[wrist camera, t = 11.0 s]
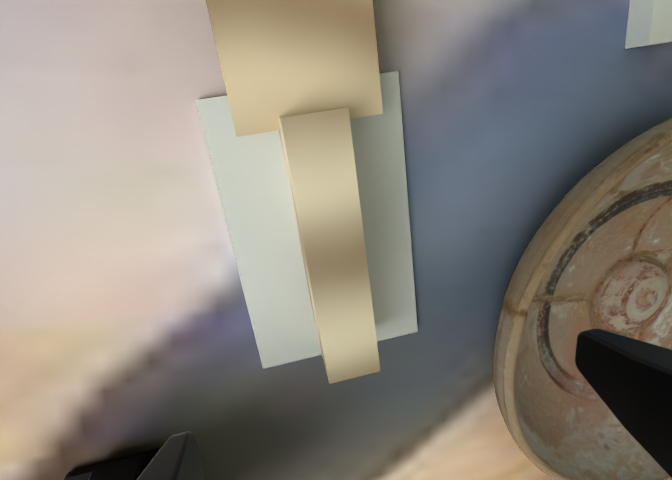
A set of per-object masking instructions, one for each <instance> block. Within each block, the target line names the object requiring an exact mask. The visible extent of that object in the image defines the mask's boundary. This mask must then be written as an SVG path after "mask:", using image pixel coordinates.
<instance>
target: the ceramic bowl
mask: <svg viewBox="0 0 672 480" xmlns="http://www.w3.org/2000/svg"><path fill="white" fill-rule="evenodd" d="M594 328H597V329H602V330H605V331H608V332H612V333H615V334H619V335H622V336H626V337H629V338H633V339H636V340H640V341H643V342H647V343H650V344H654V345H657V346H661V347H664V348H668V349H671V350H672V118H670V119H668V120H666V121H664V122H662V123H660V124H658V125H656V126H654V127H652V128H650V129H649V130H647V131H645V132H644V133H642V134H640V135H639V136H637V137H635V138H634V139H632V140H631V141H629V142H628V143H626V144H625V145H623V146H622V147H620V148H619V149H617V150H616V151H615V152H613V153H612V154H611V155H610V156H608V157H607V158H606V159H604V160H603V161H602V162H601V163H599V164H598V165H597V166H596V167H594V168H593V169H592V170H591V171H590V172H589V173H587V174H586V175H585V176H584V177H583V178H581V179H580V180H579V181H578V182H577V183H576V184H575V186H574V187H573V188H572V189H571V190H570V191H569V192H568V193H567V194H566V195H565V196H564V197H563V198H562V200H561V201H560V202H559V203H558V204H557V205H556V207H555V208H554V209H553V210H552V211H551V213H550V214H549V215H548V216H547V218H546V219H545V221H544V222H543V223H542V225H541V226H540V228H539V229H538V231H537V232H536V234H535V235H534V237H533V238H532V240H531V241H530V243H529V244H528V246H527V248H526V249H525V251H524V253H523V255H522V257H521V258H520V260H519V262H518V264H517V266H516V269H515V271H514V273H513V275H512V278H511V280H510V282H509V284H508V287H507V290H506V292H505V295H504V298H503V305H502V308H501V312H500V316H499V320H498V324H497V329H496V334H495V342H494V352H493V377H494V386H495V392H496V397H497V401H498V404H499V408H500V411H501V414H502V416H503V418H504V421H505V423H506V425H507V427H508V430H509V432H510V434H511V435H512V437H513V439H514V440H515V442H516V443H517V445H518V446H519V448H520V449H521V450H522V451H523V452H524V454H525V455H526V456H527V457H528V458H529V459H530V460H531V461H532V462H533V463H534V464H535V465H536V466H537V467H538V468H539V469H540V470H541V471H543V472H545V473H546V474H548V475H549V476H551V477H553V478H554V479H556V480H672V478H671V477H670V476H669V475H668V474H667V473H666V472H665V471H664V470H663V468H662V467H661V466H660V465H659V464H658V463H657V462H656V461H655V460H654V459H653V458H652V457H651V456H650V455H649V454H648V453H647V451H646V450H645V449H644V448H643V447H642V446H641V445H640V444H639V443H638V442H637V441H636V440H635V439H634V438H633V437H632V435H631V434H630V433H629V432H628V431H627V430H626V429H625V428H624V427H623V425H622V424H621V423H620V422H619V421H618V419H617V418H616V417H615V416H614V414H613V413H612V412H611V411H610V409H609V408H608V407H607V406H606V404H605V403H604V402H603V401H602V399H601V398H600V397H599V396H598V394H597V393H596V392H595V391H594V389H593V388H592V387H591V385H590V384H589V383H588V382H587V380H586V379H585V378H584V377H583V375H582V374H581V373H580V372H579V370H578V368H577V366H576V364H575V352H576V343H577V336H578V334H579V333H580V332H582V331H586V330H590V329H594Z"/></svg>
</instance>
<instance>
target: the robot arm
mask: <svg viewBox="0 0 672 480" xmlns="http://www.w3.org/2000/svg"><path fill="white" fill-rule="evenodd" d="M575 364H576V366H577V368H578V370H579V372H580V373H581V374H582V375H583V377H584V378H585V379H586V380H587V382H588V383H589V384H590V385H591V387H592V388H593V389H594V391H595V392H596V393H597V394H598V396H599V397H600V398H601V399H602V401H603V402H604V403H605V404H606V406H607V407H608V408H609V409H610V411H611V412H612V413H613V414H614V416H615V417H616V418H617V419H618V421H619V422H620V423H621V424H622V425H623V427H624V428H625V429H626V430H627V431H628V432H629V433H630V434H631V435H632V437H633V438H634V439H635V440H636V441H637V442H638V443H639V444H640V445H641V446H642V447H643V448H644V449H645V450H646V451H647V453H648V454H649V455H650V456H651V457H652V458H653V459H654V460H655V461H656V462H657V463H658V464H659V465H660V466H661V467H662V468H663V470H664V471H665V472H666V473H667V474H668V475H669V476H670V477H671V478H672V350H671V349H668V348H664V347H661V346H657V345H654V344H650V343H647V342H643V341H640V340H636V339H633V338H629V337H626V336H622V335H619V334H615V333H612V332H608V331H605V330H602V329H597V328H594V329H590V330H586V331H582V332H580V333H579V334H578V336H577V343H576V352H575ZM64 480H204V465H203V459H202V456H201V453H200V450H199V448H198V445H197V442H196V439H195V436H194V434H193V433H192V432H190V431H187V432H183V433H179V434H175V435H172V436H171V437H169V438H168V440H167V441H166V442H165V444H164V445H163V446H162V447H161V448H159V449H155V450H151V451H147V452H144V453H140V454H136V455H132V456H128V457H124V458H120V459H117V460H113V461H109V462H105V463H101V464H97V465H93V466H89V467H86V468H82V469H78V470H74V471H71V472H69V473H68V474H67V475H66V477H65V479H64Z"/></svg>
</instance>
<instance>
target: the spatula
mask: <svg viewBox="0 0 672 480" xmlns="http://www.w3.org/2000/svg"><path fill="white" fill-rule="evenodd" d="M206 4H207V8H208V12H209V17H210V21H211V26H212V30H213V35H214V39H215V43H216V48H217V52H218V57H219V61H220V66H221V70H222V74H223V79H224V83H225V88H226V92H227V97H228V101H229V105H230V110H231V114H232V119H233V123H234V128H235V132H236V136H237V137H240V136H246V135H252V134H259V133H265V132H271V131H277V130H279V134H280V140H281V145H282V150H283V156H284V161H285V166H286V172H287V177H288V182H289V188H290V193H291V198H292V204H293V209H294V215H295V220H296V225H297V231H298V236H299V241H300V247H301V252H302V257H303V263H304V268H305V273H306V279H307V284H308V290H309V295H310V300H311V306H312V311H313V316H314V322H315V327H316V332H317V338H318V343H319V346H320V350H321V354H322V358H323V362H324V365H325V369H326V373H327V377H328V381H329V384H332V383H336V382H340V381H344V380H348V379H352V378H356V377H359V376H363V375H367V374H371V373H375V372H379V371H380V363H379V355H378V346H377V338H376V330H375V322H374V314H373V305H372V297H371V289H370V281H369V273H368V265H367V256H366V248H365V240H364V232H363V224H362V215H361V207H360V199H359V191H358V183H357V175H356V166H355V158H354V150H353V142H352V134H351V126H350V119H352V118H358V117H365V116H371V115H377V114H383V107H382V96H381V85H380V74H379V63H378V52H377V42H376V31H375V20H374V9H373V0H206Z"/></svg>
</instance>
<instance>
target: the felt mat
mask: <svg viewBox="0 0 672 480" xmlns="http://www.w3.org/2000/svg"><path fill="white" fill-rule="evenodd" d="M380 85H381V96H382V107H383V114H377V115H371V116H365V117H358V118H352V119H350V126H351V134H352V142H353V150H354V158H355V166H356V175H357V183H358V191H359V199H360V207H361V215H362V224H363V232H364V240H365V248H366V256H367V265H368V273H369V281H370V289H371V297H372V305H373V314H374V322H375V330H376V338H377V341H381V340H385V339H389V338H394V337H398V336H402V335H406V334H410V333H414V332H418V328H417V314H416V301H415V287H414V274H413V261H412V247H411V234H410V220H409V207H408V193H407V180H406V167H405V153H404V140H403V126H402V113H401V99H400V86H399V73H398V71H394V72H387V73H380ZM195 102H196V106H197V110H198V113H199V117H200V121H201V125H202V129H203V133H204V137H205V141H206V145H207V149H208V153H209V157H210V161H211V165H212V169H213V173H214V177H215V181H216V185H217V189H218V193H219V197H220V201H221V204H222V208H223V212H224V216H225V220H226V224H227V228H228V232H229V236H230V240H231V244H232V248H233V252H234V256H235V260H236V264H237V268H238V272H239V276H240V280H241V284H242V288H243V292H244V296H245V299H246V303H247V307H248V311H249V315H250V319H251V323H252V327H253V331H254V335H255V339H256V343H257V347H258V351H259V355H260V359H261V363H262V367H263V369H265V368H269V367H273V366H277V365H281V364H285V363H290V362H294V361H298V360H302V359H306V358H310V357H315V356H319V355H322V354H321V350H320V346H319V343H318V338H317V332H316V327H315V322H314V316H313V311H312V306H311V300H310V295H309V290H308V284H307V279H306V273H305V268H304V263H303V257H302V252H301V247H300V241H299V236H298V231H297V225H296V220H295V215H294V209H293V204H292V198H291V193H290V188H289V182H288V177H287V172H286V166H285V161H284V156H283V150H282V145H281V140H280V134H279V130H277V131H271V132H265V133H259V134H252V135H246V136H240V137H237V136H236V132H235V128H234V123H233V119H232V114H231V110H230V105H229V101H228V97H227V96H220V97H213V98H206V99H199V100H195Z"/></svg>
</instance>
